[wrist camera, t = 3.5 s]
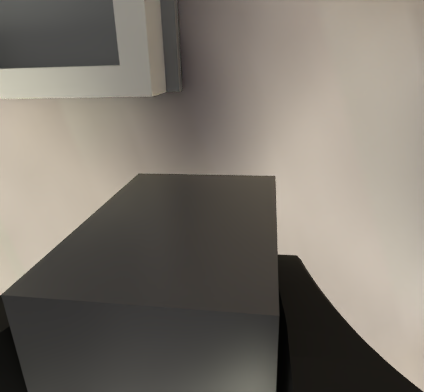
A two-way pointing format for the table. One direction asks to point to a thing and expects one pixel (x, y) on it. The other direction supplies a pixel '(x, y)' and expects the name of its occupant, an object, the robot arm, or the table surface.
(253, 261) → the plug
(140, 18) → the socket plate
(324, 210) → the table surface
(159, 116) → the table surface
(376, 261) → the table surface
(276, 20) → the table surface
